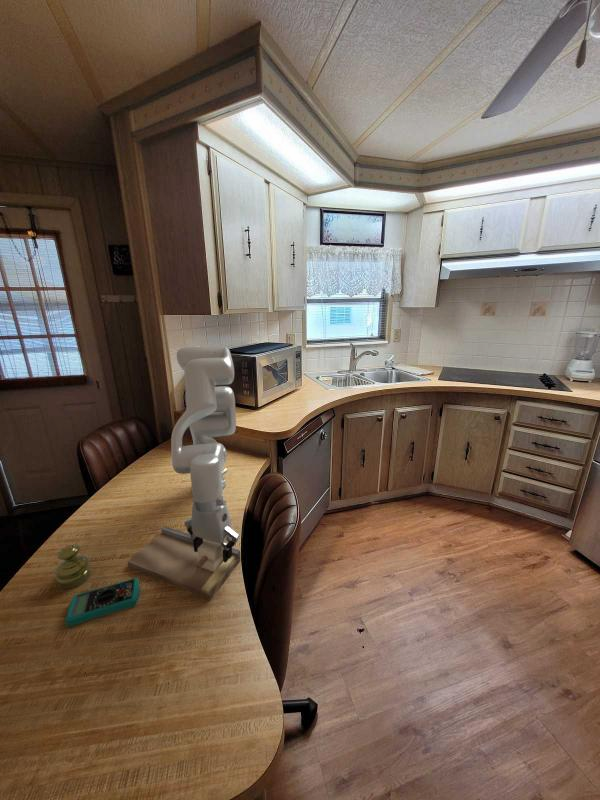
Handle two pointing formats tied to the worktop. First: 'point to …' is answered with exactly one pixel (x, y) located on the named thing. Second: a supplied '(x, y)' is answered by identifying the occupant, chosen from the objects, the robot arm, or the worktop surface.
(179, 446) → the robot arm
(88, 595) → the digital multimeter
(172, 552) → the board
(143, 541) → the worktop surface
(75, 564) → the brass pawn finial
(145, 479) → the worktop surface
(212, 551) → the block with top hole
